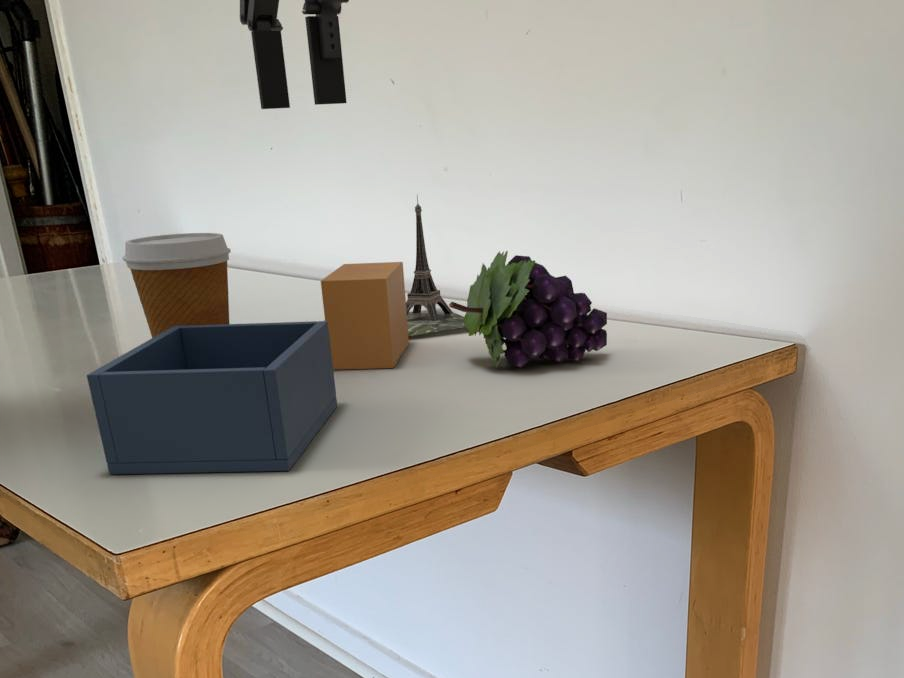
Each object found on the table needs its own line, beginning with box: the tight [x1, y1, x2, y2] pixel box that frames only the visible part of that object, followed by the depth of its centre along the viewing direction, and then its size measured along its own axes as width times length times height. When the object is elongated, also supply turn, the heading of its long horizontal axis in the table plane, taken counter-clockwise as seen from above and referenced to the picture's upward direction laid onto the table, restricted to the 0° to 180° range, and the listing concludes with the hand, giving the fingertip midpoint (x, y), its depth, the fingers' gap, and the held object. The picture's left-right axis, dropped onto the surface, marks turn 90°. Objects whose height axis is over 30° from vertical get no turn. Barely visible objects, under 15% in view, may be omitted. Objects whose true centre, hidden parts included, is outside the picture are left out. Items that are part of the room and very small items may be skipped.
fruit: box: [448, 250, 608, 369], centre depth 90 cm, size 10×11×15 cm
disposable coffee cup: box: [122, 232, 232, 339], centre depth 92 cm, size 10×10×12 cm
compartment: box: [86, 320, 338, 475], centre depth 73 cm, size 13×17×7 cm
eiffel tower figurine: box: [406, 194, 465, 337], centre depth 108 cm, size 15×10×13 cm
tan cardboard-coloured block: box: [320, 261, 410, 371], centre depth 96 cm, size 6×11×8 cm, turn 176°
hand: (301, 106), depth 92 cm, fingers open, 13 cm apart
